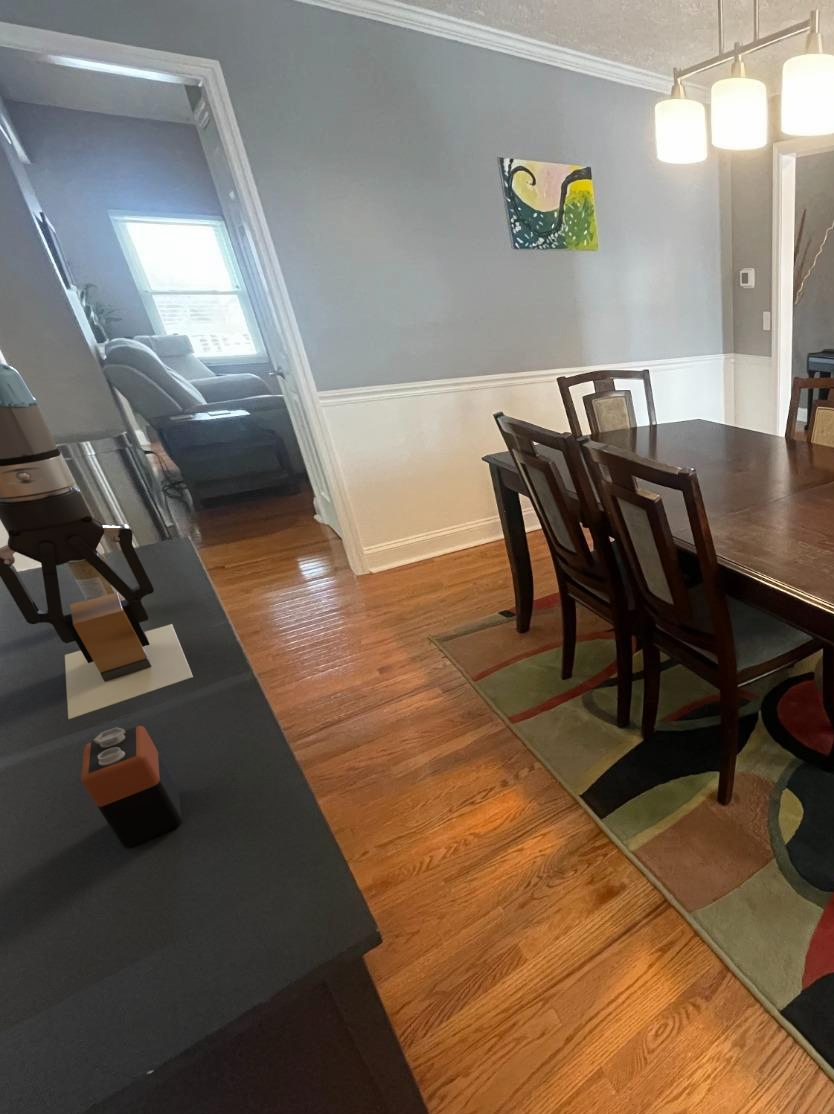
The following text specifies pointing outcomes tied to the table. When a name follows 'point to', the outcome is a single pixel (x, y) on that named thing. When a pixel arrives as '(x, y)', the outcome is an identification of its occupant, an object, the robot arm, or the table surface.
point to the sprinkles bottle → (91, 578)
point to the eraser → (109, 636)
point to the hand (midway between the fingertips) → (118, 650)
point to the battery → (131, 785)
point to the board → (96, 693)
